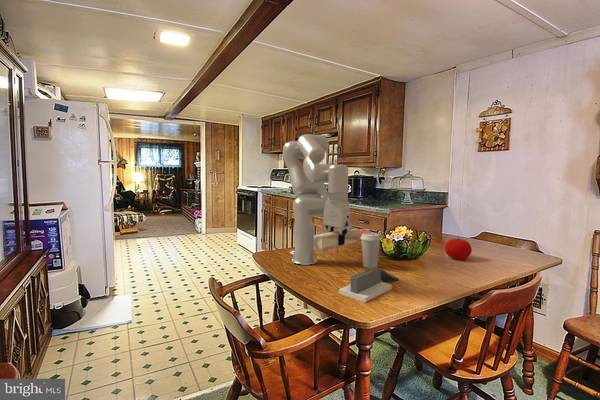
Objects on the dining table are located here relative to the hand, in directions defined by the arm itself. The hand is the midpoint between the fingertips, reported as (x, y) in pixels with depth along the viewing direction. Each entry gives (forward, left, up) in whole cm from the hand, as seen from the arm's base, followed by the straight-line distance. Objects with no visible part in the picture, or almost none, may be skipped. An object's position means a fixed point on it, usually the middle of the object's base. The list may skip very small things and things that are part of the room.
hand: (336, 243), depth 124 cm
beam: (0, 0, -1) cm, 1 cm away
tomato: (+21, +72, -16) cm, 77 cm away
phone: (+8, +20, -16) cm, 27 cm away
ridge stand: (+13, +1, -16) cm, 21 cm away
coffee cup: (-3, +29, -16) cm, 33 cm away
